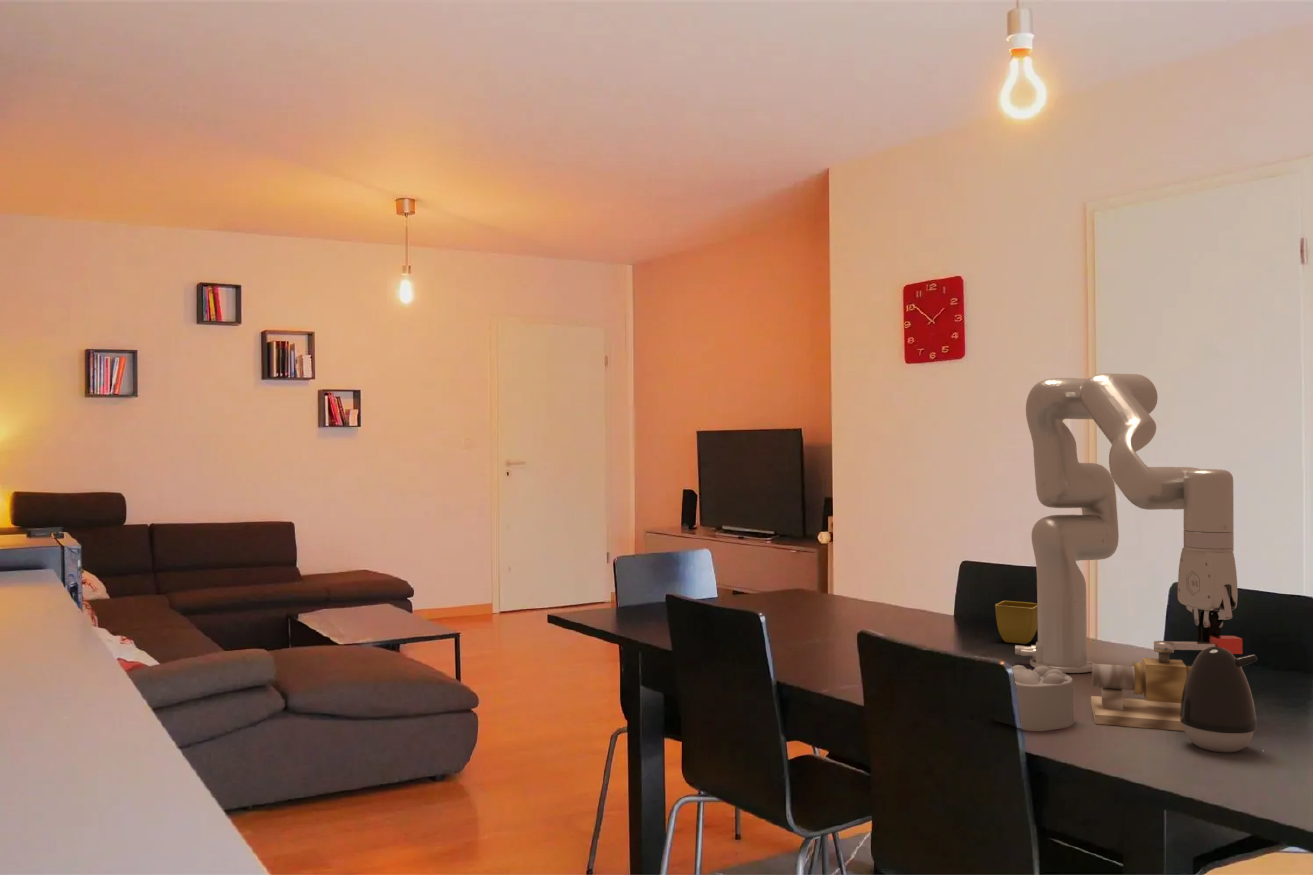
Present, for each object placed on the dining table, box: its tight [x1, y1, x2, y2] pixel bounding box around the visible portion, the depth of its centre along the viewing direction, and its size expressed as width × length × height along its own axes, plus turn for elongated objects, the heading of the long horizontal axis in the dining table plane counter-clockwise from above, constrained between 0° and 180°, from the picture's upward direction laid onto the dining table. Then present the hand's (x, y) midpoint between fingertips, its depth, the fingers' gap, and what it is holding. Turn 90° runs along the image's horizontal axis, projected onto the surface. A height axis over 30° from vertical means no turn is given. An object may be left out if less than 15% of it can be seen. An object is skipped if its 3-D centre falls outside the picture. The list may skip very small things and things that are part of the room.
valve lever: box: [1153, 635, 1244, 655], centre depth 172 cm, size 14×3×2 cm, turn 85°
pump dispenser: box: [1180, 647, 1258, 754], centre depth 156 cm, size 10×10×15 cm
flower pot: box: [994, 600, 1038, 645], centre depth 244 cm, size 9×9×9 cm
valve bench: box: [1090, 652, 1192, 732], centre depth 173 cm, size 22×14×11 cm, turn 70°
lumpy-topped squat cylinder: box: [1011, 664, 1074, 732], centre depth 172 cm, size 10×13×9 cm
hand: (1208, 649), depth 176 cm, fingers closed
